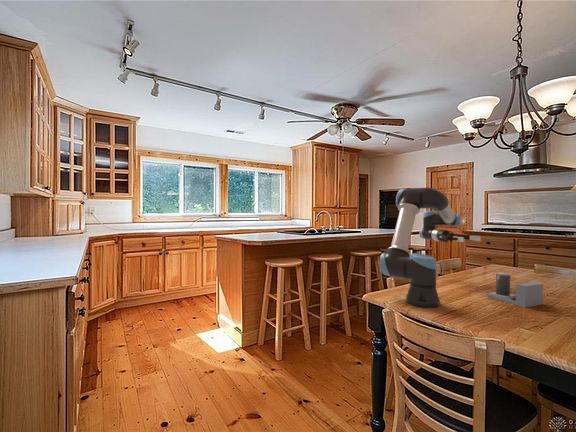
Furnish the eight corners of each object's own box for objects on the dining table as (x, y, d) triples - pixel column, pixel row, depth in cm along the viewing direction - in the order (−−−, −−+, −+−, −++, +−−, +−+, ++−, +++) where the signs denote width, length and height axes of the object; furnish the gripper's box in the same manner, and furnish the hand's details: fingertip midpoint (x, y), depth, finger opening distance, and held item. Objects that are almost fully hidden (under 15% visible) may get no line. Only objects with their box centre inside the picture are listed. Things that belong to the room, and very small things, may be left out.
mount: (524, 307, 137) (525, 286, 137) (486, 296, 154) (487, 277, 154) (542, 304, 142) (543, 283, 141) (503, 294, 158) (504, 275, 158)
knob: (505, 299, 148) (506, 275, 147) (489, 294, 155) (490, 272, 155) (516, 297, 150) (516, 274, 150) (500, 293, 158) (500, 271, 158)
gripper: (455, 240, 193) (487, 244, 173) (425, 242, 184) (455, 246, 164) (455, 229, 193) (487, 232, 173) (426, 230, 184) (455, 233, 164)
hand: (472, 239), depth 168 cm, fingers open, 13 cm apart
